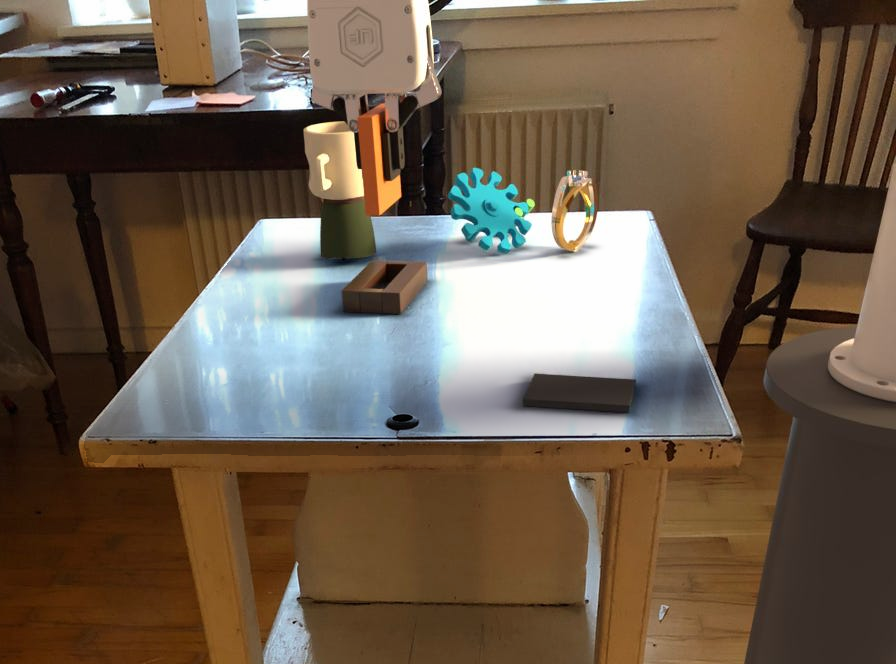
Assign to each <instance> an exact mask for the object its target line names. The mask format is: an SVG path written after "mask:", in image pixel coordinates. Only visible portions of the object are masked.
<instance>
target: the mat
mask: <svg viewBox="0 0 896 664" xmlns="http://www.w3.org/2000/svg"><path fill="white" fill-rule="evenodd" d="M636 386H637V379H635V378H634V379H633V378H619V377H618V378H617V377H602V376H601V377H599V376H584V375H565V374H551V373H533V376H532V378H531V380H530V382H529V384H528V387H527V389H526V391H525V393H524V396H523V398H522V406H523V407H536V408H550V409H551V408H552V409H564V410H565V409H567V410H579V411H594V412H595V411H596V412H609V413H610V412H612V413H626V414H629V413H630V412H631V408H632V403H633V399H634V395H635V391H636Z"/></svg>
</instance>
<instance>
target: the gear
mask: <svg viewBox="0 0 896 664" xmlns="http://www.w3.org/2000/svg"><path fill="white" fill-rule="evenodd" d="M483 176H484V171H483V169H481V168H478V167H473V168H472V169H471V170H470V172H469V175H468V174H467V173H466V172H461V173H459V174H457V175H456V176H455V178H454V179H453V180H454V181H453V182H454V184H455V185H453V186H452V188H451V189H450V190H449V192H448V193H447V198H448V200H449V201H452V202H455V203H454V204H453V206H452V207H451V208H450V217H451V219H452V220H453V221H454V220H455V221H458V220H464V221H465V220H466V221H468V222H466V223H464V224H463V226H462V227H461V229H460V231H461V233H462V235H463V236H464V239H465V241H467V242H468V243H473V242H474V241H475V239H476V238H477V236H478V235H479V234H480V233H483V234H485V235H484V236H482V237H481V238H480V240H479V241H478V245H477V246H478V247H479V248H480V249H482V250H483V251H485V252H488V251H489V250H490V249H491V247H492V246H493V243H494V242H493V241H494V240H493V239H494V237H497V238H498V239H499V240H500V243H499V244H498V245H497V247H496V250H497V252H498V253H499V254H502V255H504V254H505V255H507V254H509V252H510V251H511V250H512V247H513V248H514V249H519V248H521V247H523V246H524V244H525V243H526V241H527V239H526V237H525V236H526V234H528V232H530V230H531V228H532V225H533V224H532V223H531V222H530V221H529V220H526V219H525V217H526V215H528V214H529V213H530V212H531V211H532V210H533V209H534V207H535V205H536V204H535V201H534V199H532V198H527V199H526V201H521V202H516V201H512V200H514V199H515V198H516V197H517V196H518V194H519V191H518V189H517V187H516V185H515V184H514V183H510V184H509V185H508V186H507V187H506V188H505V189H497V186H499V184H500V183H501V181H502V180H503V177H502V175H500V174H499V173H498V172H496V171H494V170H493V171H492V172H491V173H490V174H489V176H488V177H487V184H486V185H484V184H483V183H482V182H481V179H482V178H483ZM469 179H470V180H471V182H472V187H471V186H470V185H469ZM463 194H464V195H463ZM508 235H510V236H511V242H510V240H509V237H508Z"/></svg>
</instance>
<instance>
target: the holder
mask: <svg viewBox="0 0 896 664" xmlns="http://www.w3.org/2000/svg"><path fill="white" fill-rule="evenodd" d="M428 282H429V281H428V262H427V261H411V260H410V261H409V260H408V261H407V260H381V259H379V260H377V259H375V260H374V259H371V261H370V262H368V264H367V265H366V266H365V267H364V268H362V270H360V272H358V274H357V275H356V276H355V277H354V278H353V279H352V280H351V281H349V283H348V284H346V286H345V287H343V288H342V289H341V292H340V293H341V302H342V311H343V312H344V313H345V312H346V313H365V314H368V313H369V314H385V315H386V314H387V315H388V314H389V315H402V314H403V312H404V311H405V310H406V309H407V307H408V306H409V305H410V304H411V302H412V301H413V300H414V299H415V298H416V296H417V295H418V294H419V293H420V292H421V290H422V289H423V288H424V287H425V286H426V285H427V283H428ZM387 284H388V285H387ZM386 285H387V286H386ZM385 286H386V287H385Z"/></svg>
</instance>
